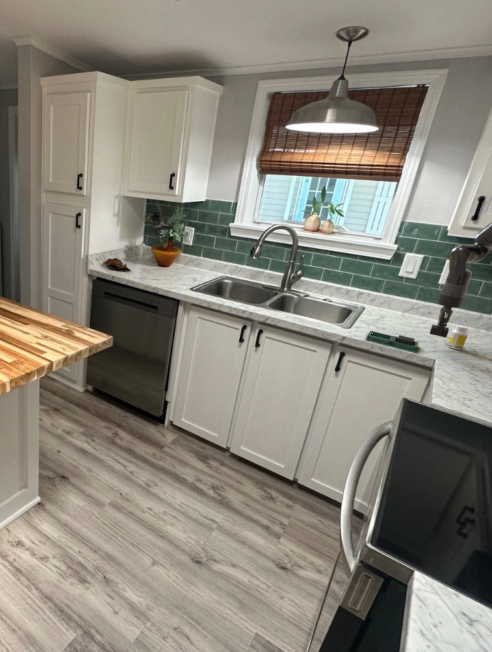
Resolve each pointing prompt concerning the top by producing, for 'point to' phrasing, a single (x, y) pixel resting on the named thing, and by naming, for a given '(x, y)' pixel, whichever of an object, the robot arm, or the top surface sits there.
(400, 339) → the near pad
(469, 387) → the top surface
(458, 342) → the supplement bottle
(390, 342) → the base board
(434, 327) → the far pad
